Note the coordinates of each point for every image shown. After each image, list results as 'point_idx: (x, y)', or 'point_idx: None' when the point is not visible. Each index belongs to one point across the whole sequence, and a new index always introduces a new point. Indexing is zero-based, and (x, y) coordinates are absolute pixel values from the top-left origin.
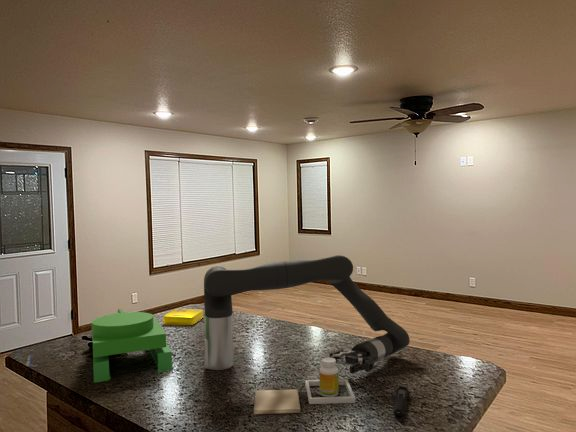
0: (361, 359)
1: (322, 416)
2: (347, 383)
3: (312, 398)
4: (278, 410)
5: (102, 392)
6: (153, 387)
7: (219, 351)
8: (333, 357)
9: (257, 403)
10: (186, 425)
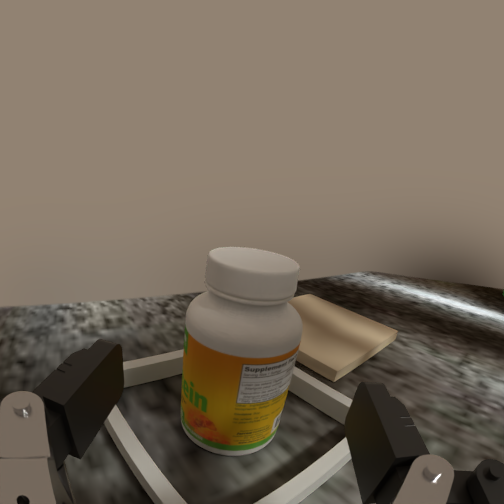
0: (7, 457)
1: (168, 319)
2: (166, 490)
3: None
4: None
5: (475, 289)
6: (479, 304)
7: None
8: (383, 432)
9: (331, 305)
10: (343, 276)
